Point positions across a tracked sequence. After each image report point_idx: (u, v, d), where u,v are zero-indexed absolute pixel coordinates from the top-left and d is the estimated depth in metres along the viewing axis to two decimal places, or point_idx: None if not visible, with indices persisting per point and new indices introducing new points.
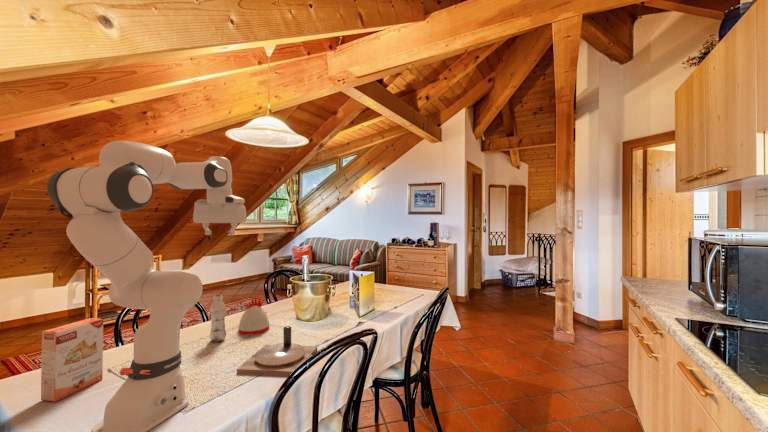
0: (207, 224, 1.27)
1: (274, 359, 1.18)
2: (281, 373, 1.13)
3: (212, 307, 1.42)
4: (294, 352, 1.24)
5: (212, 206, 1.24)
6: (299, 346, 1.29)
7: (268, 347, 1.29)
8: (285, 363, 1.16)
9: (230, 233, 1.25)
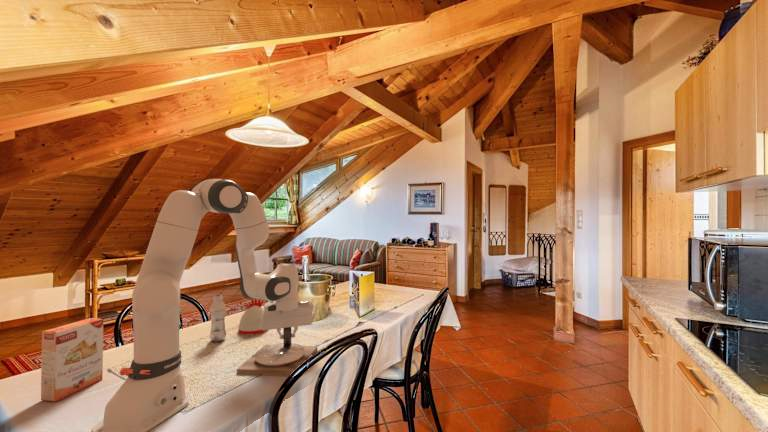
0: (294, 327, 1.32)
1: (274, 359, 1.18)
2: (281, 373, 1.13)
3: (212, 307, 1.42)
4: (294, 352, 1.24)
5: None
6: (299, 346, 1.29)
7: (268, 347, 1.29)
8: (285, 363, 1.16)
9: None
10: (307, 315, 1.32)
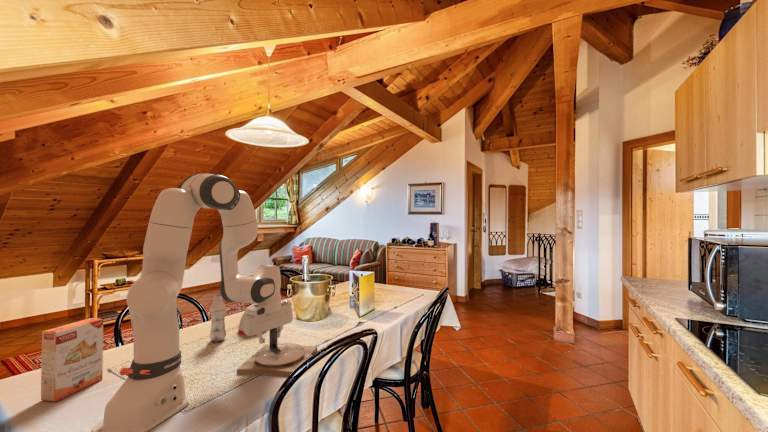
0: (278, 327, 1.32)
1: (287, 357, 1.20)
2: (281, 373, 1.13)
3: (212, 307, 1.42)
4: (294, 348, 1.28)
5: None
6: (287, 343, 1.32)
7: (259, 353, 1.23)
8: (301, 357, 1.22)
9: None
10: (288, 314, 1.34)
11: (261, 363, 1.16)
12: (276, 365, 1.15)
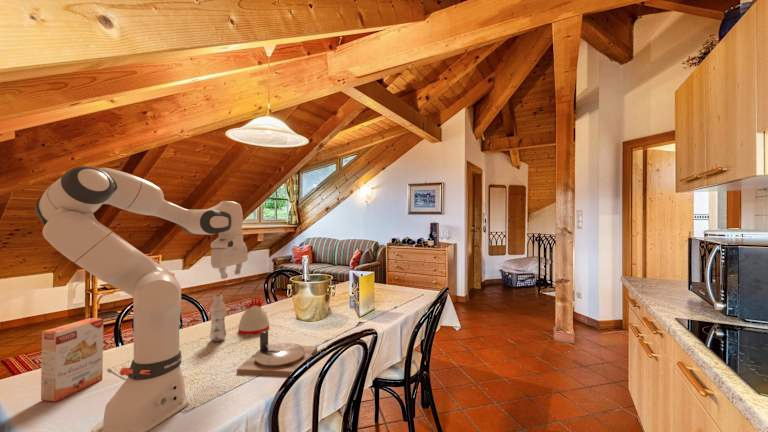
0: (238, 264, 1.36)
1: (295, 353, 1.23)
2: (281, 373, 1.13)
3: (212, 307, 1.42)
4: (288, 346, 1.30)
5: None
6: (274, 345, 1.31)
7: (261, 358, 1.19)
8: (304, 350, 1.27)
9: None
10: (245, 252, 1.38)
11: (276, 364, 1.15)
12: (292, 362, 1.18)
